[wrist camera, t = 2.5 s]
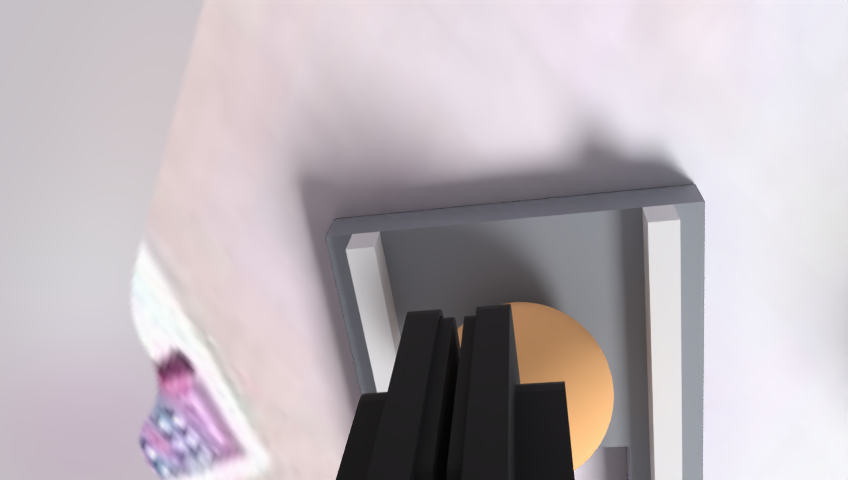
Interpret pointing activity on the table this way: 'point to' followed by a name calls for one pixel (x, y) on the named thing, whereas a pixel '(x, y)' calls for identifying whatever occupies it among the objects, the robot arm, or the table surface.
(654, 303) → the railed grey tray
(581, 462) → the ball
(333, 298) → the table surface
